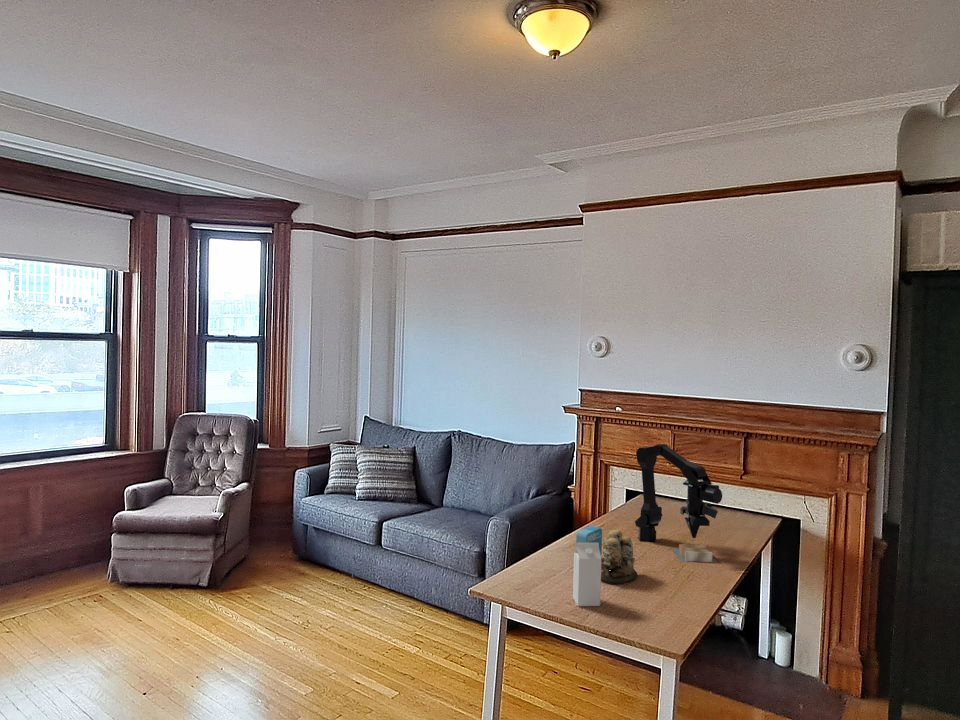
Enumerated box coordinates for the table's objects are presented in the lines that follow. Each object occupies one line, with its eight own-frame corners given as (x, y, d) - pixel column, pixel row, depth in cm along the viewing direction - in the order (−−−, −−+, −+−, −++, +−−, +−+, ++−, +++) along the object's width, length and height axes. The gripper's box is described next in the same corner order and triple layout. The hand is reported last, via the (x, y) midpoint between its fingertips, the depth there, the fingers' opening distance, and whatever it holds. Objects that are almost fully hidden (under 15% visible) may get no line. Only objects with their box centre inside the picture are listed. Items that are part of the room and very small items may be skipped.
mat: (680, 563, 244) (680, 561, 244) (670, 550, 259) (670, 549, 259) (718, 564, 243) (718, 562, 243) (705, 551, 258) (705, 550, 258)
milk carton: (572, 597, 208) (574, 539, 207) (594, 597, 208) (595, 539, 208) (577, 606, 200) (579, 546, 200) (600, 606, 201) (601, 546, 201)
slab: (678, 553, 254) (685, 560, 245) (679, 544, 254) (685, 551, 245) (704, 553, 254) (712, 561, 244) (704, 545, 253) (712, 552, 244)
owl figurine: (620, 589, 216) (621, 539, 216) (590, 580, 224) (590, 532, 223) (644, 575, 230) (645, 527, 230) (615, 567, 237) (615, 521, 237)
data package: (585, 566, 238) (586, 534, 238) (575, 563, 241) (575, 531, 241) (601, 558, 247) (602, 527, 247) (591, 555, 250) (592, 525, 250)
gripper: (724, 504, 241) (722, 545, 242) (708, 493, 260) (707, 531, 260) (694, 503, 242) (692, 544, 242) (680, 492, 260) (679, 530, 261)
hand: (693, 537), depth 251 cm, fingers closed
